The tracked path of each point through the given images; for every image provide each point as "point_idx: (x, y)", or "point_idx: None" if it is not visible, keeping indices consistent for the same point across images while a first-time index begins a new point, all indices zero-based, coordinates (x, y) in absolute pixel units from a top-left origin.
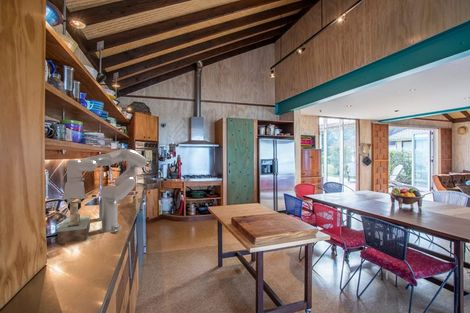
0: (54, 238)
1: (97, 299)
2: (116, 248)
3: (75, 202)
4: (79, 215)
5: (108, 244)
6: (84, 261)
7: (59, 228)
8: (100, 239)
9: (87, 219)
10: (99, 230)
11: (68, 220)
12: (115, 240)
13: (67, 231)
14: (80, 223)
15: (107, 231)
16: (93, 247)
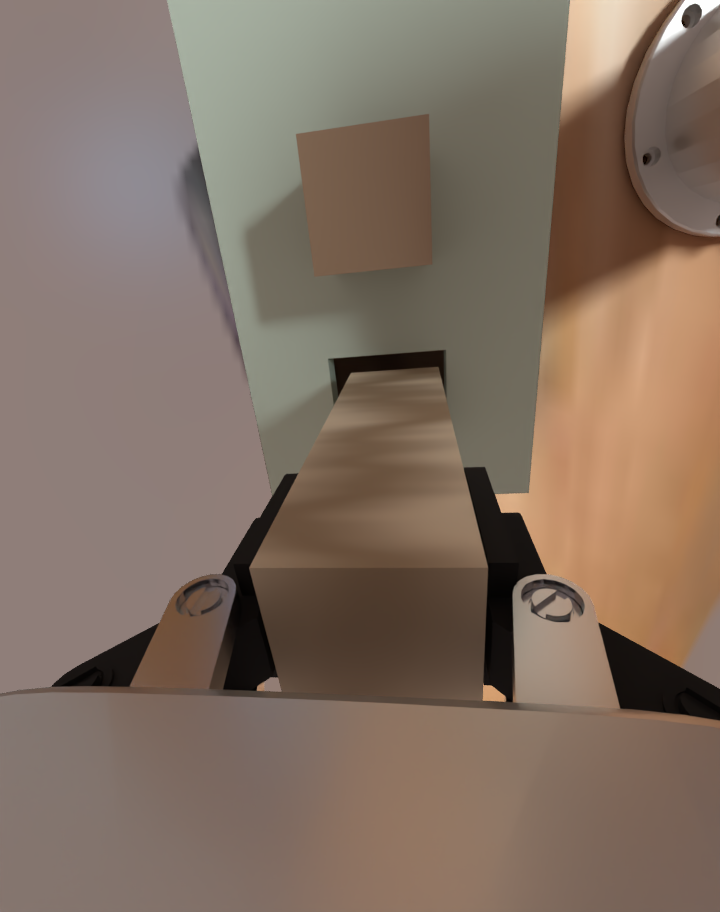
0: (212, 231)
1: None
2: (681, 619)
3: (411, 695)
4: (429, 193)
5: (647, 540)
6: (503, 698)
7: (277, 478)
8: (606, 410)
9: (539, 91)
10: (635, 137)
11: (241, 64)
12: (717, 478)
13: None
14: (454, 342)
15: (716, 215)
16: (546, 555)
